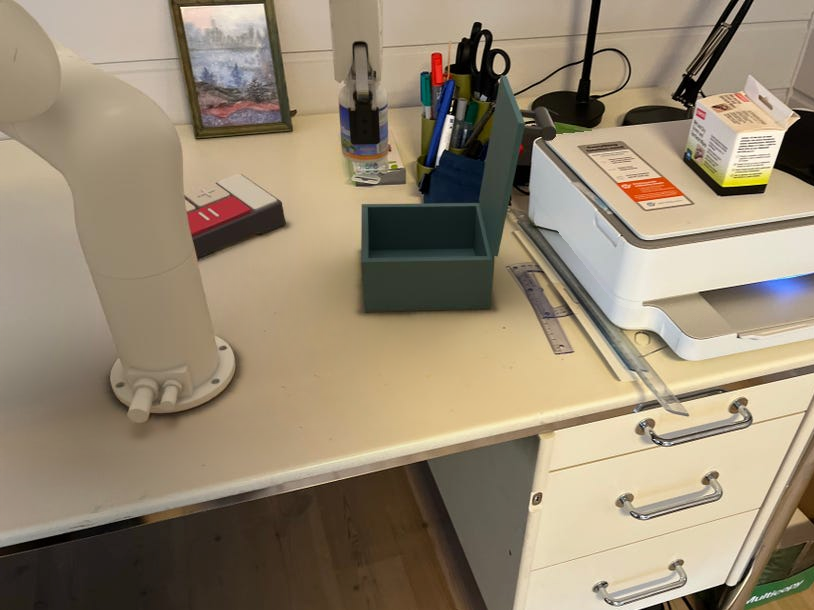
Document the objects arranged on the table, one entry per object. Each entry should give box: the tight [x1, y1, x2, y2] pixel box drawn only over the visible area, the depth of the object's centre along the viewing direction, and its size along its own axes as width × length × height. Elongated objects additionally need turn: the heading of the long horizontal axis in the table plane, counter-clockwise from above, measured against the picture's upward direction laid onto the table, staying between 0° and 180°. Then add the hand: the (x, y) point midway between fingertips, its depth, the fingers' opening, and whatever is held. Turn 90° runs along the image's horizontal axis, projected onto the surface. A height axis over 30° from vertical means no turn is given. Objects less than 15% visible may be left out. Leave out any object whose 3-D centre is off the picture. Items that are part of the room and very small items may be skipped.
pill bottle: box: [337, 66, 390, 164], centre depth 84 cm, size 5×5×10 cm
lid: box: [478, 74, 557, 258], centre depth 89 cm, size 16×14×6 cm
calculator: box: [184, 173, 286, 259], centre depth 103 cm, size 11×4×15 cm
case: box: [360, 202, 496, 313], centre depth 95 cm, size 16×14×7 cm
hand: (364, 129), depth 85 cm, fingers closed on pill bottle, 5 cm apart
